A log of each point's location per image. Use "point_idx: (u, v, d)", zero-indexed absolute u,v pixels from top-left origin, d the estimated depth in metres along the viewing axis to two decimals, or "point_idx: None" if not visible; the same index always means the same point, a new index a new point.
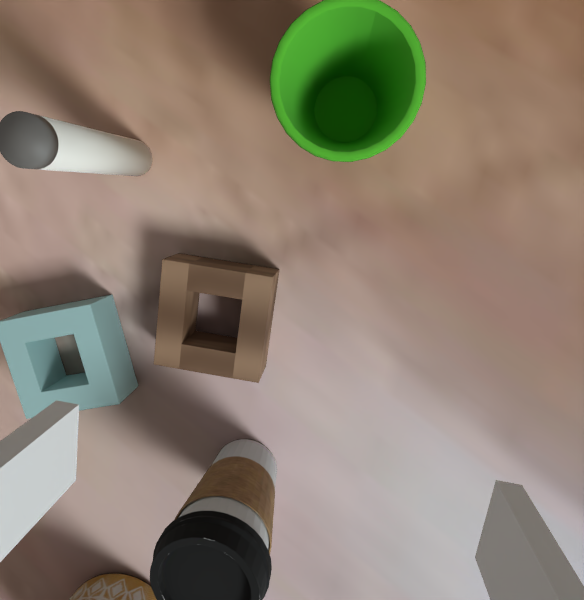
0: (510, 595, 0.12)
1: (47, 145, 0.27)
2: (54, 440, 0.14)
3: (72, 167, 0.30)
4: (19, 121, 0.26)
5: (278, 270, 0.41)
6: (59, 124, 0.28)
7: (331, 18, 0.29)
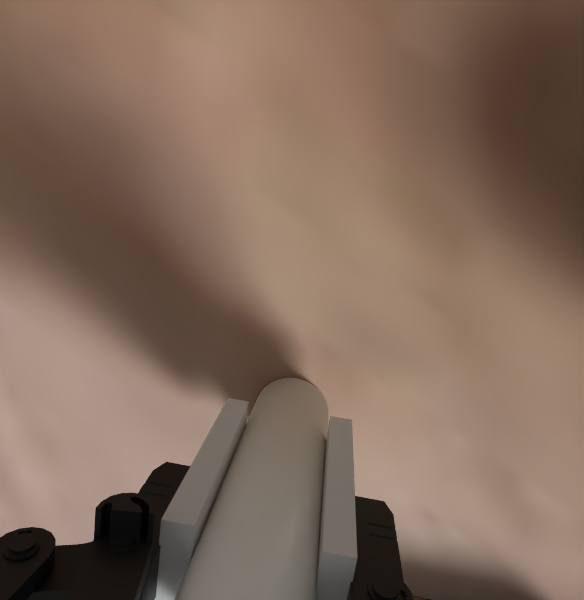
0: None
1: None
2: (239, 433, 0.16)
3: None
4: None
5: None
6: None
7: None
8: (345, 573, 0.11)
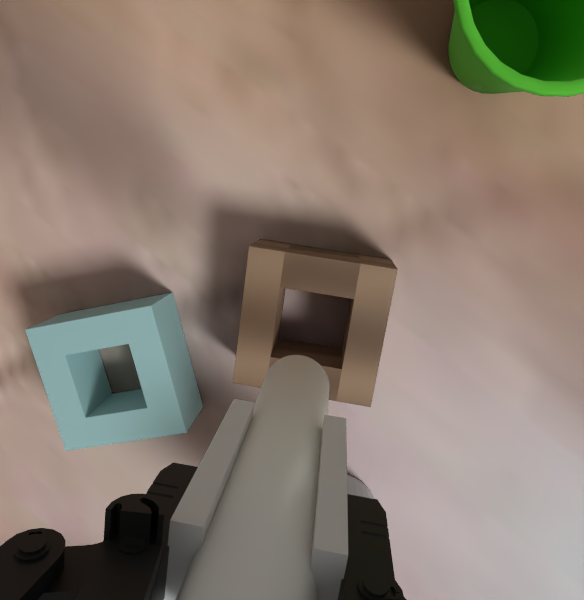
0: None
1: None
2: (245, 433, 0.16)
3: None
4: None
5: None
6: (292, 593, 0.10)
7: None
8: (336, 570, 0.11)
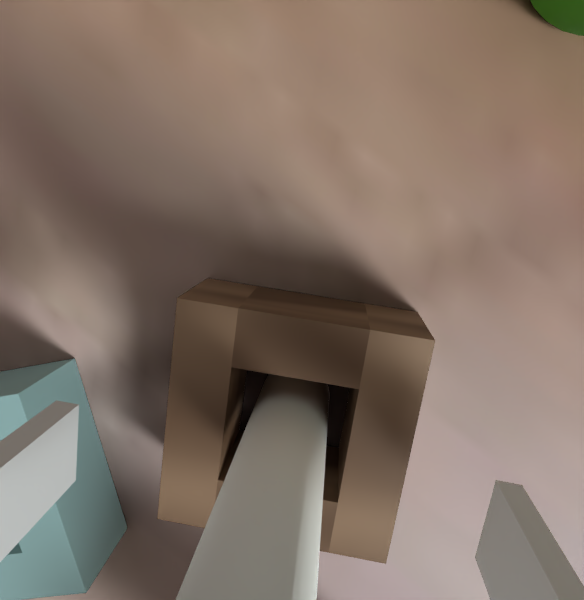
0: (509, 595, 0.12)
1: None
2: (54, 440, 0.14)
3: None
4: None
5: (419, 315, 0.20)
6: None
7: None
8: None
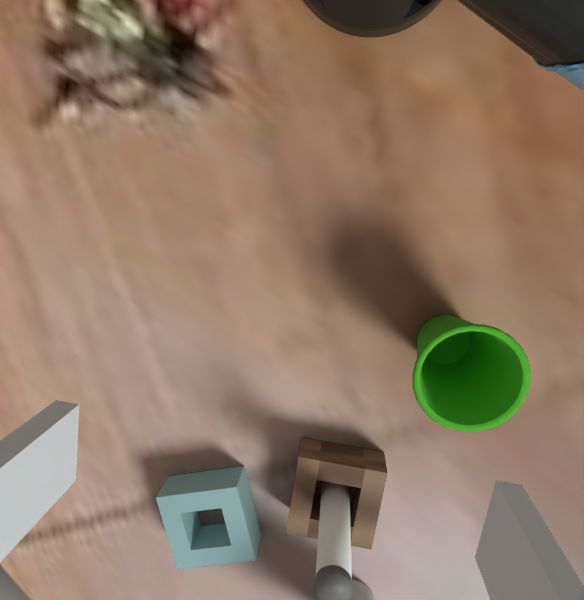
0: (510, 595, 0.12)
1: (351, 594, 0.39)
2: (54, 440, 0.14)
3: None
4: (332, 580, 0.39)
5: (384, 455, 0.52)
6: (346, 560, 0.41)
7: None
8: None
